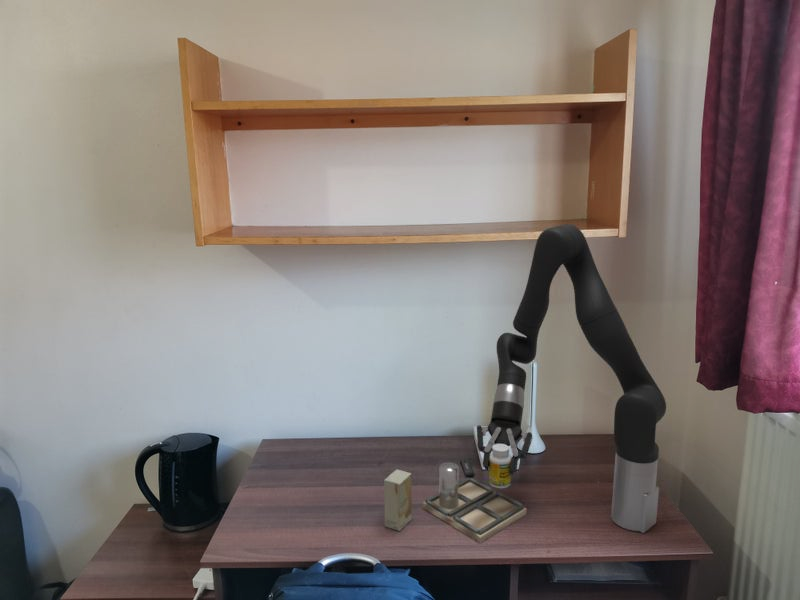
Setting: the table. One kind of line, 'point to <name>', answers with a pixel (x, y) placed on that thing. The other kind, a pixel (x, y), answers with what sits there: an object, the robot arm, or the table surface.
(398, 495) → the skincare box
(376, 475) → the table surface
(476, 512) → the wooden compartment tray
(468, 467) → the usb stick
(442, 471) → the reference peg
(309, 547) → the table surface
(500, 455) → the supplement bottle
